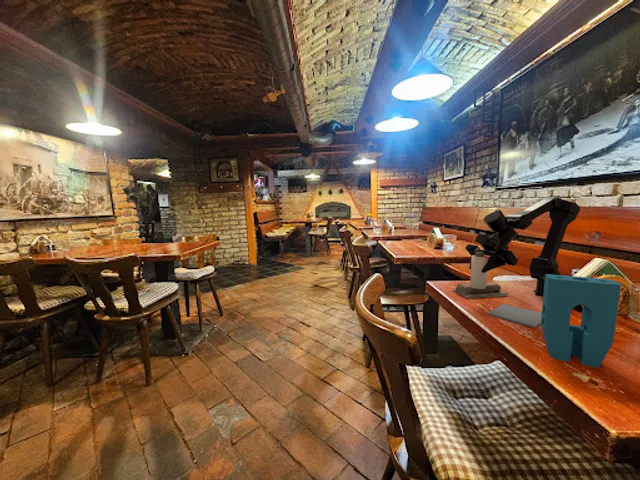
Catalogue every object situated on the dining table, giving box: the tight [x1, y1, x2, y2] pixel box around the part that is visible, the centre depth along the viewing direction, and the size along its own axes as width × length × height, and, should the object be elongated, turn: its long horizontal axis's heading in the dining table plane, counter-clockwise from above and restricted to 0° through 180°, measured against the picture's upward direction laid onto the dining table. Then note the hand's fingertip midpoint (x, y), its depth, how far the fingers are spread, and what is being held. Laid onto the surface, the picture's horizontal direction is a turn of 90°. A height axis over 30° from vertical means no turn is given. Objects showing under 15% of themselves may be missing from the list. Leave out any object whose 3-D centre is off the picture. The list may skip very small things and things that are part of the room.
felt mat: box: [487, 303, 542, 329], centre depth 86 cm, size 14×13×1 cm
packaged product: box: [452, 281, 508, 299], centre depth 109 cm, size 18×5×10 cm
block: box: [540, 274, 622, 368], centre depth 61 cm, size 12×5×20 cm, turn 61°
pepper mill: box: [469, 252, 489, 289], centre depth 96 cm, size 5×5×14 cm
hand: (476, 270), depth 96 cm, fingers closed on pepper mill, 5 cm apart
